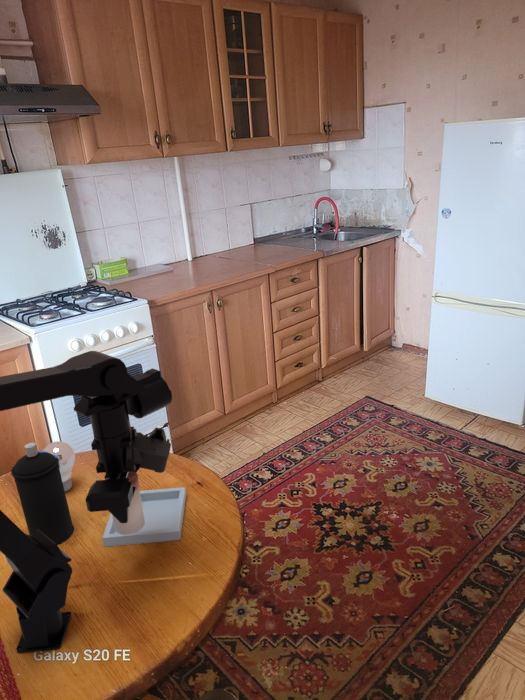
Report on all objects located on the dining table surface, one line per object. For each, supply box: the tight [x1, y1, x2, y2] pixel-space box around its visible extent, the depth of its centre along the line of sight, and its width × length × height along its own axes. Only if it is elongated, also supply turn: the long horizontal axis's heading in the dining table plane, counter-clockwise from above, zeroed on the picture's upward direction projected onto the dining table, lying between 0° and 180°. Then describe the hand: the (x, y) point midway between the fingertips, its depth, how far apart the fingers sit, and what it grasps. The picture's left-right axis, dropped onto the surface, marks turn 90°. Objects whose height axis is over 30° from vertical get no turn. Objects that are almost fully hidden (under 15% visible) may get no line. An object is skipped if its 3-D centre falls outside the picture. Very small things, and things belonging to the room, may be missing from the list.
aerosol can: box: [10, 442, 75, 546], centre depth 100 cm, size 8×8×20 cm
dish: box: [102, 486, 187, 548], centre depth 105 cm, size 14×14×2 cm
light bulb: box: [42, 440, 76, 493], centre depth 115 cm, size 7×7×12 cm
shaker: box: [112, 471, 145, 535], centre depth 89 cm, size 5×5×9 cm
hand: (127, 512), depth 89 cm, fingers closed on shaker, 5 cm apart
